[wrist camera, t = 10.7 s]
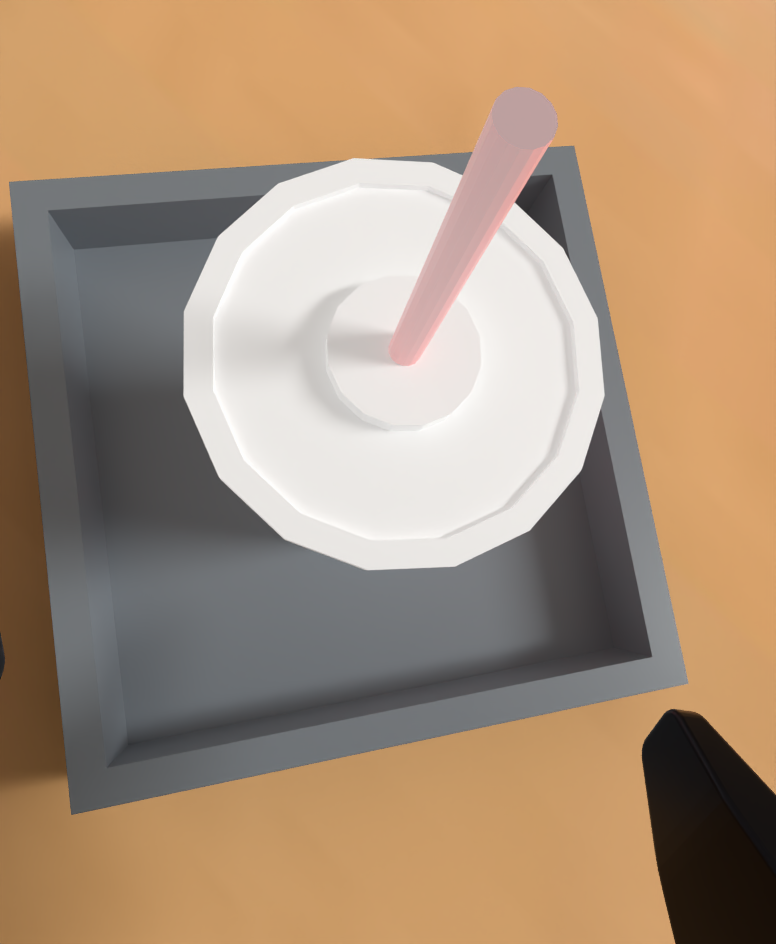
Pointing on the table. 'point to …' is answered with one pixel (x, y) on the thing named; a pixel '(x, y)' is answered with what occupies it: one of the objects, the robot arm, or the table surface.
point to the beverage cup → (398, 354)
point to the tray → (263, 550)
